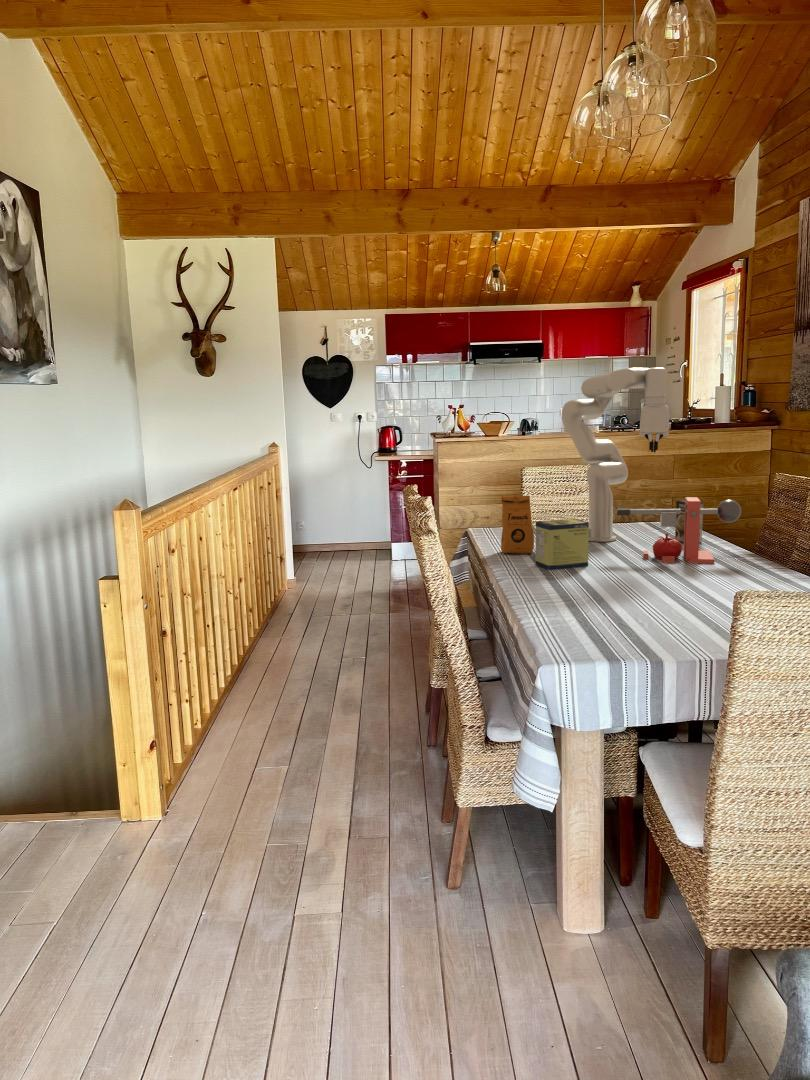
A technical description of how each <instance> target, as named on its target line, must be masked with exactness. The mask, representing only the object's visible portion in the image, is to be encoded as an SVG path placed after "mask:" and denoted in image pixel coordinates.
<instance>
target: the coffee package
mask: <svg viewBox="0 0 810 1080" xmlns="http://www.w3.org/2000/svg"><path fill="white" fill-rule="evenodd" d="M501 503H502V504H501V505H502V508H501V509H502V511H501V516H502V517H501V525H502V531H501V537H500V538H501V539H500V550H501V552H502V553H504V554H511V555H516V554H517V555H519V554H520V555H525V554H530V555H531V554H533V550H534V548H535V535H534V529H533V523H532V522H533V520H532V511H531V510H532V509H531V497H530V495H518V496H516V495H515V496H514V495H502V496H501Z"/></svg>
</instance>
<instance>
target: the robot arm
mask: <svg viewBox="0 0 810 1080" xmlns="http://www.w3.org/2000/svg"><path fill="white" fill-rule="evenodd" d="M667 379H668V371H667V368H665V367H650V368H649V367H629V368H628V367H627V368H622V369H617V370H616V369H615V370H612V371H611V372H609V373H605V374H600V375H595V376H590V377H588V378H587V379H585V380H584V381H583V382H582V383H581V387H580V389H581V393H582V394H583V396H585V397H586V398H578V399H571V400H569V401H567V402H565V403H564V404H563V406H562V409H561V421H562V425H563V427H564V429H565V431H566V432H567V433H568V435H569V437H570V438H571V440H572V441H573V444H574V447H575V448H576V451H577V453H578V455H579V456H580V458H581V459H582V461H583V462H584V463H585V464H590V465H589V467H588V468H587V471H586V480H587V485H588V522H589V536H588V542H595V543H596V542H601V543H604V542H614V541H616V540H617V536H616V535H613V534H614V533H613V530H614V529H613V526H614V525H613V523H614V522H613V520H614V518H613V517H614V513H613V512H614V496H613V492H612V489H611V487H610V486H612V485H620V484H623V483H625V482H626V481H627V479H628V476H629V470H628V466H627V464H626V462H625V460H624V458H623V456H622V454H621V452H620V451H619V448H618V447H617V446H616V443H614V442H613V441H612V440H610V439H607V438H606V439H598V438H596V436H595V435H594V433H593V431H592V429H591V428H590V426H588V424H586V423H585V422H583V420H584V421H585V420H587V421H588V420H597V419H599V418H600V417H601V416H602V415H604V413H605V411H606V409H607V408H608V406H609V405H610V403H611V402H612V400H613V398H614V396H615V395H617V394H618V393H619V392H620V391H622V390H631V389H632V390H633V389H644V397H643V398H641V399H640V403H641V404H644V405H643V406H642V407H641V411H640V417H639V418H640V421H639V433H638V436H639V437H642V438H646V440H648V442H649V444H648V445H649V446H648V449H649V451H650V453H656V452H657V451H658V449H659V448H658V447H659V441H660V440H661V439H663V438H664V437H668V436H670V432H669V429H670V413H669V406H668V405H667V385H668V384H667V382H668V381H667ZM653 434H656V435H655V439H653Z"/></svg>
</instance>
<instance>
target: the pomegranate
mask: <svg viewBox="0 0 810 1080" xmlns="http://www.w3.org/2000/svg"><path fill="white" fill-rule="evenodd" d="M664 534H665V537H664V536H658V539H657V540H655V542H654V544H653V545H652V551H653V556H654V557H655V559H659V560H662V556H674V557H675V560H676V559H678V558H679V557H680V556H681V554H682V550H683V545H682V543H681V541H678V539H677V540H675V539H676V538H675V537H673V536H671V537H669V533H668V532H665V533H664Z"/></svg>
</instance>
